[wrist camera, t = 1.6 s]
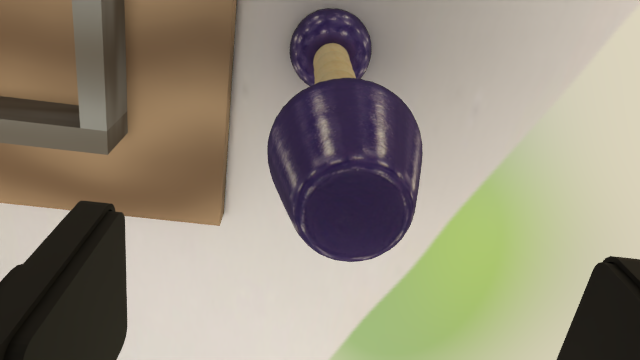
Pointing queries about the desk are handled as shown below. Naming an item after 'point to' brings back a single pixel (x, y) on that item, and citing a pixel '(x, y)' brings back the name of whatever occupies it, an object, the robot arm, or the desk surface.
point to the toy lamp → (344, 145)
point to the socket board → (117, 105)
